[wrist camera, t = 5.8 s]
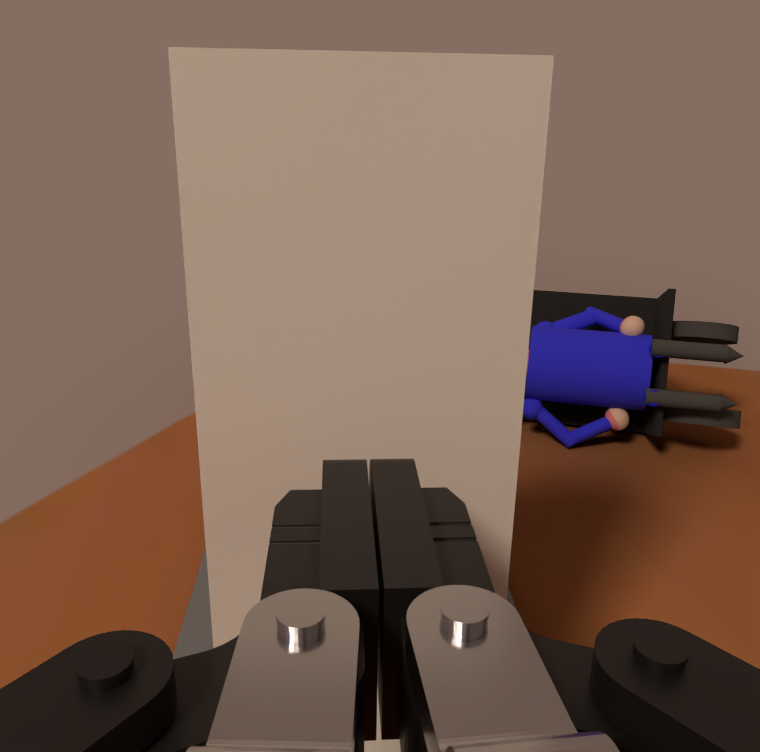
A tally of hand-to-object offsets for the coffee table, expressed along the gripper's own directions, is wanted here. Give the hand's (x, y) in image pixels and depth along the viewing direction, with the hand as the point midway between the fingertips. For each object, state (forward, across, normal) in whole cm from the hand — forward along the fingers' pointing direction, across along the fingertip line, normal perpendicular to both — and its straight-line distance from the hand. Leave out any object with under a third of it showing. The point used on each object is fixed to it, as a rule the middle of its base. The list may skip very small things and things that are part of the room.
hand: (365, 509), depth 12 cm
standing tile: (+3, 0, +8) cm, 8 cm away
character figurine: (+22, -11, +9) cm, 26 cm away
